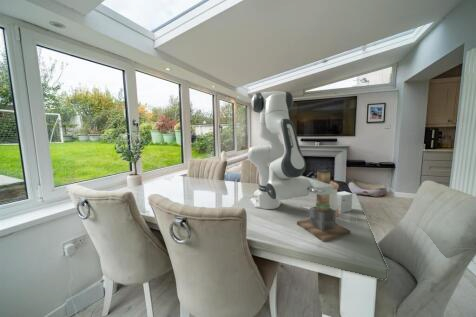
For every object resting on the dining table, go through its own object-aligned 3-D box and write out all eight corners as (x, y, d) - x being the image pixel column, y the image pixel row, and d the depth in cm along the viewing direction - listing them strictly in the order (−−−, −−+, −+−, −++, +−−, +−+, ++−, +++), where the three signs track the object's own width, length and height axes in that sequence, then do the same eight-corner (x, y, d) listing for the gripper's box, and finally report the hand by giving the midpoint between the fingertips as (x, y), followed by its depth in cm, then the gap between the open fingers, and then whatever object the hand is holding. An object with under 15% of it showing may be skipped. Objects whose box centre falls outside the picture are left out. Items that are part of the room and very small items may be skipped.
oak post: (315, 211, 97) (316, 170, 94) (322, 210, 99) (323, 169, 96) (322, 215, 93) (323, 171, 90) (329, 213, 95) (330, 170, 92)
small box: (343, 207, 122) (344, 190, 120) (351, 210, 116) (352, 193, 115) (333, 209, 119) (334, 192, 118) (341, 213, 114) (341, 195, 112)
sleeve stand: (296, 224, 103) (296, 205, 101) (321, 218, 108) (321, 200, 107) (323, 241, 86) (323, 219, 84) (350, 233, 92) (351, 213, 90)
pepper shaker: (332, 217, 108) (333, 183, 106) (321, 213, 115) (322, 180, 112) (340, 214, 112) (342, 181, 109) (329, 210, 118) (330, 178, 115)
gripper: (318, 185, 79) (343, 181, 84) (287, 175, 98) (310, 172, 103) (317, 200, 80) (343, 195, 85) (287, 187, 99) (309, 184, 104)
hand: (324, 182), depth 94 cm, fingers open, 8 cm apart
